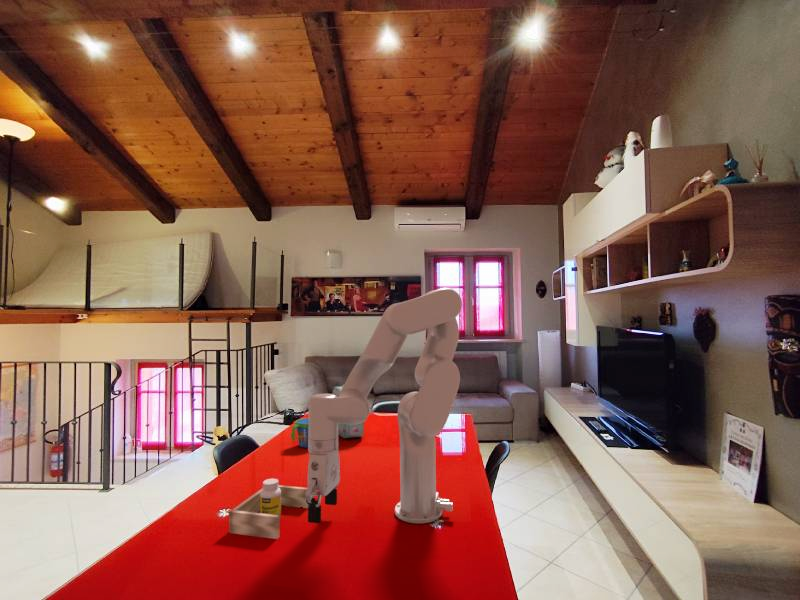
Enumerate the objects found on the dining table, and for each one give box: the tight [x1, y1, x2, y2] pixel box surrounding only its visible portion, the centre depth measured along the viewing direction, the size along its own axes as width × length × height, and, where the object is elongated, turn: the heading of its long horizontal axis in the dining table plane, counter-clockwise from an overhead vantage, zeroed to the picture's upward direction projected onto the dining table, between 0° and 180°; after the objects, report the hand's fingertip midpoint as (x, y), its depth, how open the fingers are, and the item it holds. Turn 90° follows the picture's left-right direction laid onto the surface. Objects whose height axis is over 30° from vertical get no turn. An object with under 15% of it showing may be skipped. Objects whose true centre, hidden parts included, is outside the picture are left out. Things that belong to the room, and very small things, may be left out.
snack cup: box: [290, 417, 309, 448], centre depth 167 cm, size 16×10×10 cm
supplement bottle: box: [259, 478, 282, 520], centre depth 105 cm, size 5×5×10 cm
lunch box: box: [331, 383, 365, 439], centre depth 185 cm, size 27×10×21 cm, turn 25°
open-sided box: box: [228, 484, 308, 540], centre depth 105 cm, size 13×17×5 cm
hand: (323, 513), depth 101 cm, fingers open, 9 cm apart
